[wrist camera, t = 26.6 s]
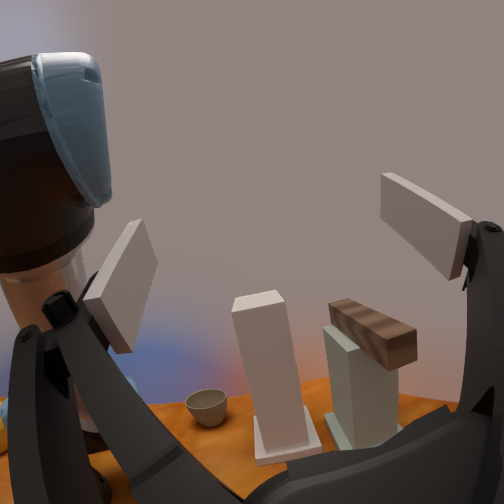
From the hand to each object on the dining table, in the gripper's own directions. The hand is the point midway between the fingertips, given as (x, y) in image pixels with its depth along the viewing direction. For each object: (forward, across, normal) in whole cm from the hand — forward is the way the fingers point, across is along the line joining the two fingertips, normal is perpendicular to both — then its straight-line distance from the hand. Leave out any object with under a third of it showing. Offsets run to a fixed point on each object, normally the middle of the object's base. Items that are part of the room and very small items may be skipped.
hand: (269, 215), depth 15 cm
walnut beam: (+12, +13, -27) cm, 33 cm away
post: (+5, +13, -48) cm, 50 cm away
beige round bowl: (+19, -18, -57) cm, 63 cm away
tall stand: (+10, -2, -51) cm, 52 cm away
